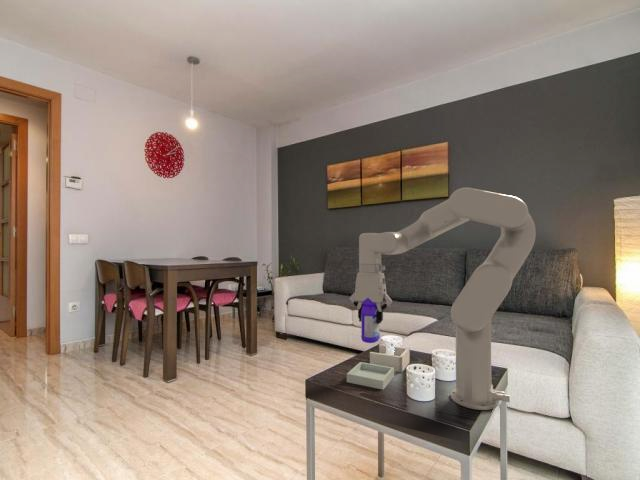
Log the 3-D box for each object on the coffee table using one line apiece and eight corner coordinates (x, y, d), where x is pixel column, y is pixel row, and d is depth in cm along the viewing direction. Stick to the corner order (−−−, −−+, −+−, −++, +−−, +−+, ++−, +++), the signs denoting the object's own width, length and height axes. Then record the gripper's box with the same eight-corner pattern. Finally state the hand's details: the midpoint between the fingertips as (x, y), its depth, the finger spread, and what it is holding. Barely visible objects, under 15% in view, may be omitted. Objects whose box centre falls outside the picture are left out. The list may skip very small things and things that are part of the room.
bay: (409, 362, 131) (409, 348, 131) (401, 373, 120) (401, 357, 120) (380, 357, 136) (379, 344, 136) (369, 367, 126) (369, 352, 126)
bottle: (374, 344, 111) (374, 291, 111) (358, 342, 113) (358, 290, 114) (382, 339, 117) (381, 289, 117) (366, 337, 120) (366, 288, 120)
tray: (394, 375, 118) (394, 367, 118) (383, 389, 106) (383, 380, 106) (360, 369, 124) (360, 361, 124) (346, 382, 112) (346, 373, 112)
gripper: (398, 269, 115) (398, 322, 115) (351, 267, 123) (351, 317, 123) (391, 270, 108) (391, 327, 108) (342, 268, 116) (342, 321, 116)
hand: (370, 321), depth 115 cm, fingers closed on bottle, 5 cm apart
